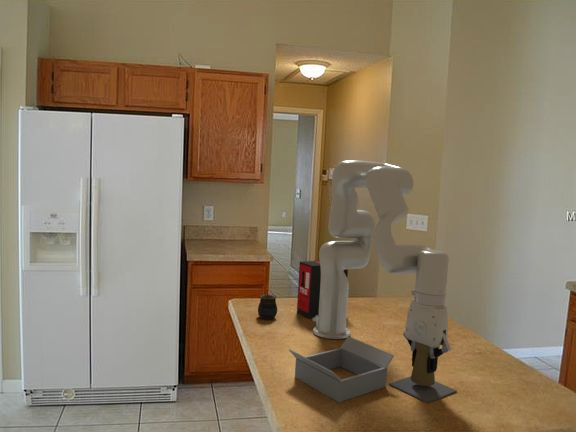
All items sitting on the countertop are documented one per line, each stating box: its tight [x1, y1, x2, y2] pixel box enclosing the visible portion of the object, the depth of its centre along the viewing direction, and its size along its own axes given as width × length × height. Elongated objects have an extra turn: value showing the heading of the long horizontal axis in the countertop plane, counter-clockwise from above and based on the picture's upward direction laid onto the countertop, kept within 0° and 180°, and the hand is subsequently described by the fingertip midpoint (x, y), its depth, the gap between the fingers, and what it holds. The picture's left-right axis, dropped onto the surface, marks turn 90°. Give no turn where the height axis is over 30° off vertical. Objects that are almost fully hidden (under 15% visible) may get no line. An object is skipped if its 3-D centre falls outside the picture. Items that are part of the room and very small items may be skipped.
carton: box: [288, 336, 395, 403], centre depth 126 cm, size 17×22×8 cm
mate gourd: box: [257, 293, 278, 320], centre depth 179 cm, size 7×8×10 cm
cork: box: [410, 342, 436, 386], centre depth 124 cm, size 6×6×11 cm
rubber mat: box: [388, 375, 458, 404], centre depth 125 cm, size 12×12×1 cm
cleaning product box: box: [296, 260, 349, 320], centre depth 188 cm, size 16×9×20 cm, turn 120°
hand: (423, 368), depth 125 cm, fingers closed on cork, 3 cm apart
